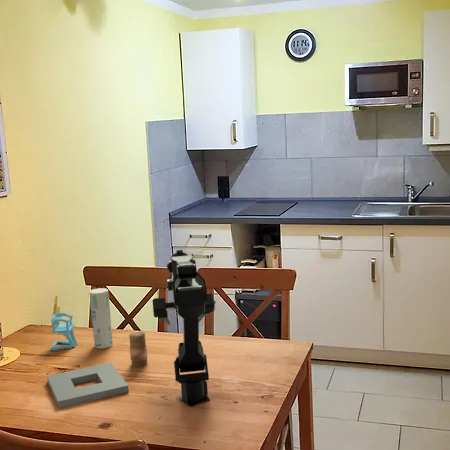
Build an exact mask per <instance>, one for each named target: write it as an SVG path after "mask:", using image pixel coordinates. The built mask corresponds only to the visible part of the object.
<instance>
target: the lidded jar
mask: <svg viewBox="0 0 450 450" xmlns="http://www.w3.org/2000/svg"><path fill="white" fill-rule="evenodd" d="M145 333H146V332H144V331H135V332H134V331H133V332H131V333H129V336H128V338H129V355H130V356H129V357H130V360H131V366H132V367H134V368H141V367H146V365H148V348H147V343H146V341H147V340H146V334H145Z"/></svg>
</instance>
